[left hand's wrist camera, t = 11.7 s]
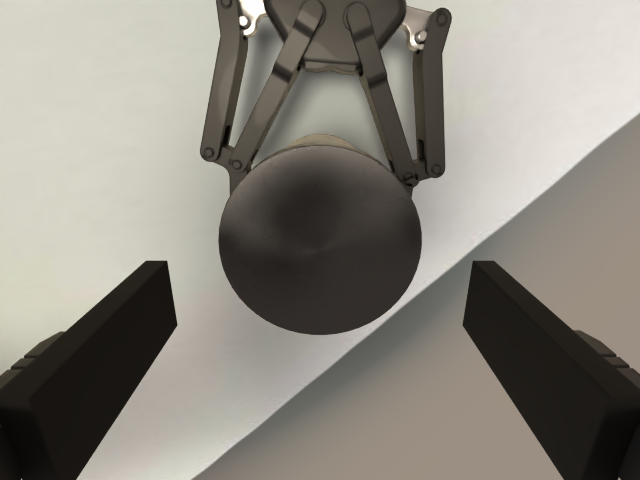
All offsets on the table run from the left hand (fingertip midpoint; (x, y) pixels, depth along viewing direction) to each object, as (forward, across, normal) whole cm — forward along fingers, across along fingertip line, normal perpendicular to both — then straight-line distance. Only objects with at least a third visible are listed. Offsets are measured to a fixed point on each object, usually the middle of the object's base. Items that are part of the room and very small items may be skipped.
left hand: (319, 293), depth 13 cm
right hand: (+13, 0, -5) cm, 14 cm away
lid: (+5, 0, 0) cm, 5 cm away
